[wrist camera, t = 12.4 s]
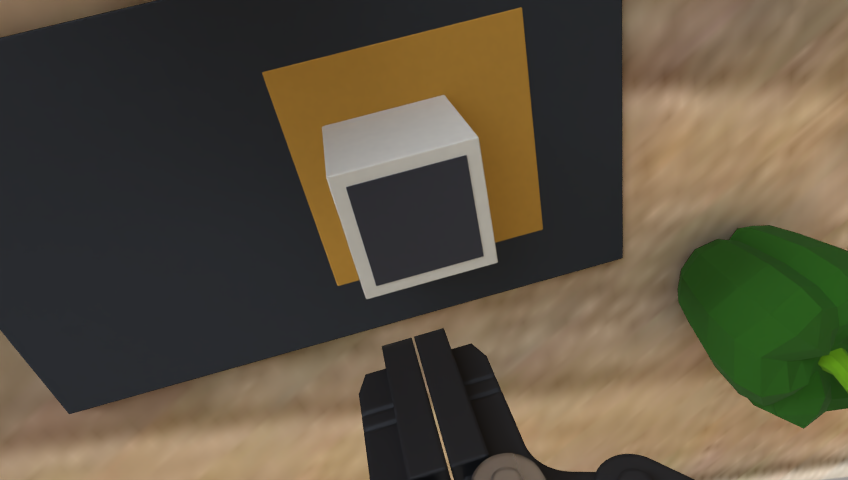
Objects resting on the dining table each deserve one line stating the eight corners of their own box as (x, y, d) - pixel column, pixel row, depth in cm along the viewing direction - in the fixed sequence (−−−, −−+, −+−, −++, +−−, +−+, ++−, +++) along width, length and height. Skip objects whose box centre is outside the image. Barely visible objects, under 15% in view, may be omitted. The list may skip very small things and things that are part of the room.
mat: (-188, 82, 18) (-200, 87, 17) (615, -110, 20) (622, -111, 19) (72, 406, 26) (68, 415, 26) (618, 253, 28) (623, 258, 28)
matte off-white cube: (479, 137, 17) (444, 94, 22) (325, 177, 17) (321, 125, 21) (498, 263, 20) (464, 203, 24) (366, 301, 20) (354, 232, 24)
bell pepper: (688, 194, 27) (864, 320, 18) (819, 205, 29) (1033, 323, 20) (629, 328, 31) (753, 482, 22) (749, 330, 33) (903, 472, 24)
